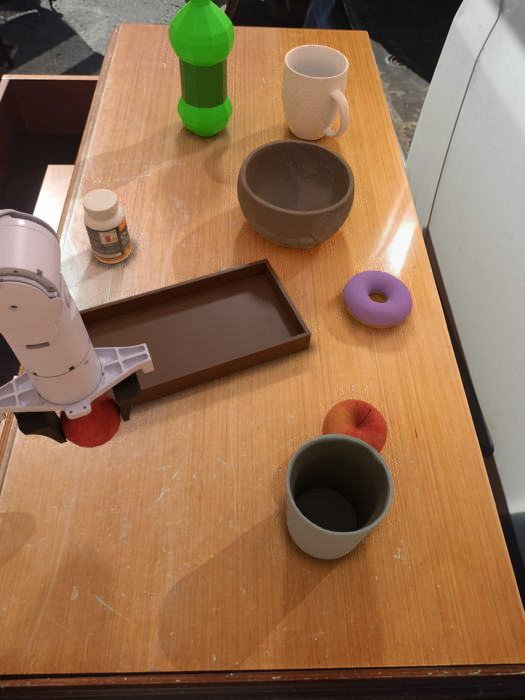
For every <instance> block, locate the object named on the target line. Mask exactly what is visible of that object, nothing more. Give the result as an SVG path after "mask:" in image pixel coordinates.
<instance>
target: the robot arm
mask: <svg viewBox="0 0 525 700" xmlns="http://www.w3.org/2000/svg"><path fill="white" fill-rule="evenodd" d="M61 250H62V249H61V244H60V238H59V236H58V234H57V232H56V230H55V229H54V228H53V227H52V226H51V225H50V223H48V222H46V221H45V220H44V219H42V218H41V217H38V216H35V215H33V214H30V213H26V212H22V211H18V210H16V209H12V208H5V209H0V334H1V335H2V336H3V338H4V339H5V341H6V343H7V344H8V346H9V347H10V348H11V351H12V352H13V354H14V356H15V357H16V359H17V360H18V362H19V363H20V365H21V367H22V368H23V370H24V372H22V373H21V374H19V375H18V376H16V377H15V378H13V379H12V380H10V381H8V382H6V383H5V384H3V385H1V386H0V422H2V421H5V420H6V419H7V414H8V413H12V414H13V415H14V416H15V419H16V422H17V428H18V430H19V431H20V432H21V434H23V435H24V436H31V435H32V436H43V437H46V438H49V439H51V440H54V441H55V442H57V443H58V444H60V445H62V444H65V443H68V439H67V438H66V436H65V435H64V433H63V432H62V430H61V427H60V415H58V413H57V412H61V411H65V413H66V415H67V417H68V418H69V419H76V418H78V417H81V416H84V415H87V414H89V413H90V412H91V402H92V401H93V400H94V399H96V398H97V397H99V396H100V395H102V394H103V393H104V392H106V391H107V390H109V389H110V388H112V389H113V393H114V396H115V399H116V402H117V404H118V407H119V410H120V417H121V421H122V422H123V423H126V422H129V421H130V420H131V411H132V408H133V407H132V405H133V403H134V402H135V400H136V399H137V398H139V397H140V395H141V387H140V384H139V381H138V378H137V375H136V372H135V371H137V370H139V369H141V370H142V372H143V373H148V372H151V371H154V367H153V364H152V360H151V357H150V354H149V352H148V349H147V346H146V344H145V343H144V344H140V345H137V346H131V347H107V348H93V345H92V343H91V341H90V338H89V336H88V333H87V331H86V328H85V326H84V323H83V321H82V318H81V316H80V313H79V311H80V310H79V309H78V306H77V304H76V301H75V299H74V298H73V296H72V294H71V292H70V290H69V287H68V284H67V282H66V280H65V278H64V275H63V273H62V272H61V267H62V265H61V263H62V262H61V260H62V259H61V258H62V257H61V256H62V255H61V254H62V251H61Z"/></svg>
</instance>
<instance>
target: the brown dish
mask: <svg viewBox="0 0 525 700" xmlns="http://www.w3.org/2000/svg"><path fill="white" fill-rule="evenodd" d="M78 311H79V313H80V316H81V318H82V321H83V323H84V326H85V328H86V331H87V333H88V336H89V338H90V341H91V343H92V345H93V348H107V347H131V346H137V345H140V344H144V343H145V344H146V346H147V349H148V352H149V354H150V357H151V360H152V364H153V367H154V371H151V372H148V373H143V372H142V370H141V369H139V370H137V371H135V372H136V375H137V378H138V381H139V384H140V387H141V395H140V397H139V398H137V399H136V400H135V402H134V403H133V405H132V408H133V407H135V406H138V405H142V404H144V403H148V402H151V401H154V400H156V399H160V398H162V397H165V396H169V395H172V394H176V393H177V392H180V391H183V390H186V389H189V388H192V387H196V386H199V385H202V384H205V383H207V382H211V381H213V380H214V381H215V380H216V379H219V378H222V377H226V376H229V375H231V374H234V373H238V372H240V371H243V370H247V369H249V368H252V367H255V366H259V365H262V364H264V363H268V362H270V361H273V360H276V359H280V358H282V357H286V356H288V355H291V354H294V353H297V352H300V351H304V350H306V349H309V348H310V344H311V340H312V339H311V338H312V333H311V332H310V329H309V328H308V326H307V324H306V323H305V321H304V319H303V317H302V316H301V314H300V312H299V310H298V309H297V307H296V305H295V304H294V302H293V300H292V299H291V297H290V295H289V293H288V292H287V290H286V289H285V287H284V285H283V284H282V281H281V280H280V278H279V277H278V275H277V273H276V271H275V270H274V268H273V266H272V264H271V263H270V261H269V260H268V258H267V257H266V258H262V259H258V260H255V261H252V262H249V263H244V264H241V265H237V266H234V267H230V268H226V269H224V270H220V271H219V270H218V271H216V272H213V273H209V274H206V275H201V276H198V277H194V278H191V279H188V280H187V279H186V280H184V281H181V282H177V283H174V284H170V285H167V286H163V287H160V288H155V289H152V290H149V291H145V292H142V293H138V294H134V295H131V296H127V297H123V298H120V299H116V300H113V301H110V302H105V303H103V304H98V305H95V306H92V307H89V308H84V309H81V310H78ZM105 393H106V394H108V395H110V396H112V398H113V399H114V401H115V402H116V399H115V396H114V393H113V389H112V388H110V389H109V390H107V391H106V392H105ZM116 404H117V402H116ZM117 405H118V404H117Z"/></svg>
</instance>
